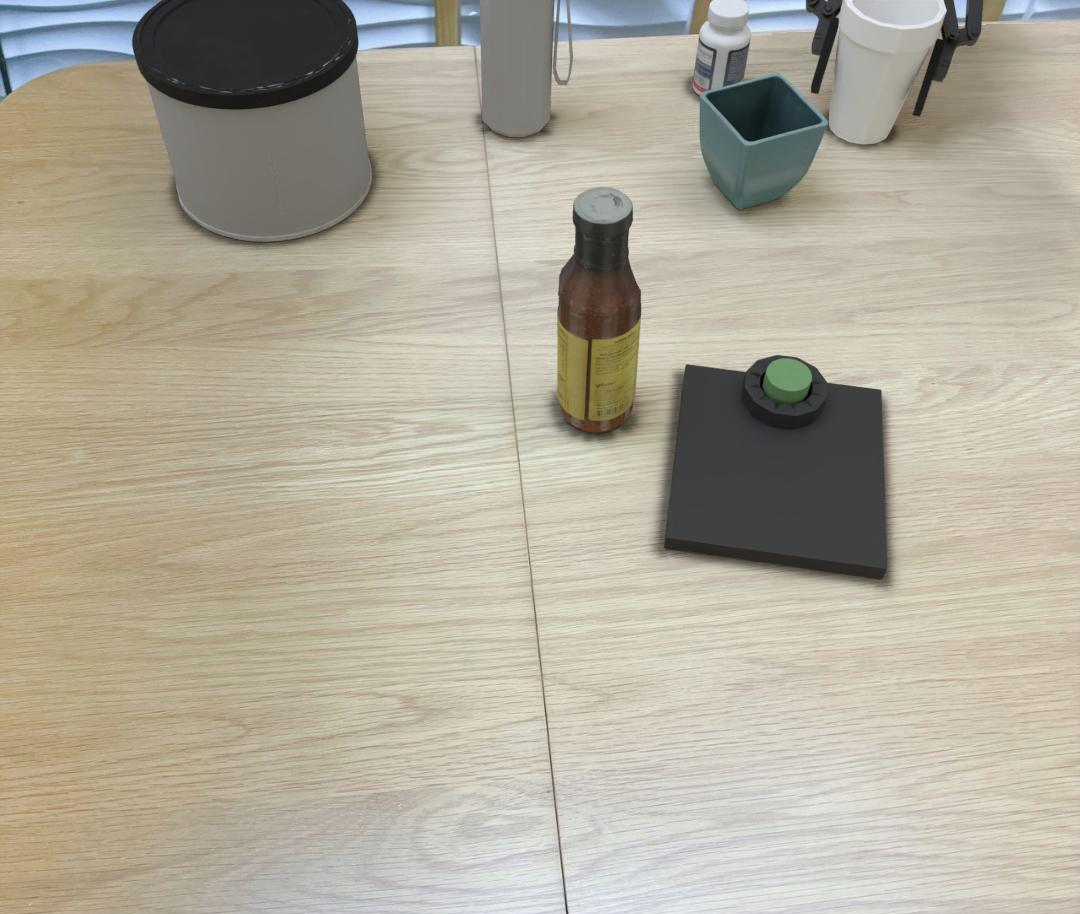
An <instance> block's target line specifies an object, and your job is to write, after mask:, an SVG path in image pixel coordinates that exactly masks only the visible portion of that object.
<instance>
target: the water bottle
mask: <svg viewBox="0 0 1080 914" xmlns="http://www.w3.org/2000/svg"><path fill="white" fill-rule="evenodd" d="M565 2H566V16H567V17H566V18H567V33H568V35H567V37H568V50H569V64H568V74H567V78H566V80H565V79H560V76H559V73H558V71H557V61H558V60H557V58H558V45H559V43H558V42H559V28H560V26H559V25H560V12H561V11H560V10H561V0H557V2H556V3H557V5H556V17H555V0H479V30H480V31H479V32H480V36H479V37H480V79H481V81H480V82H481V86H480V87H481V120H482V121H483V122H484V123H485V124H486V125H487V127H488V128H490V129H491V130H492V131H493V132H494V133H497V134H500V135H502V136H505V137H508V138H526V137H528V136H531V135H534V134H538V133H539V132H541V130H542V129H543V128H544V127H545V126H546V125H547V124H548V122H549V121H550V120H551V105H552V78H553V77H554V80H555V82H556V84H557V85H558V86H568V84H569V82H570V78H571V75H572V69H573V68H572V67H573V61H574V49H573V35H572V34H573V33H572V20H571V19H572V18H571V4H570V0H566V1H565ZM554 23H555V24H554ZM554 25H555V29H554ZM554 30H555V31H554ZM552 76H553V77H552Z"/></svg>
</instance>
